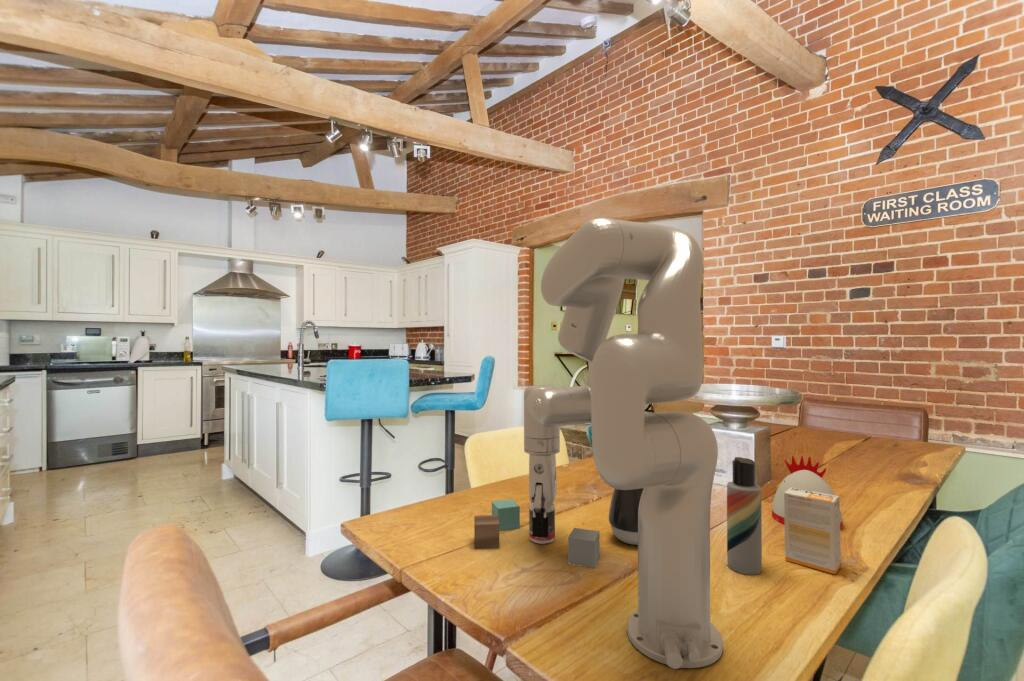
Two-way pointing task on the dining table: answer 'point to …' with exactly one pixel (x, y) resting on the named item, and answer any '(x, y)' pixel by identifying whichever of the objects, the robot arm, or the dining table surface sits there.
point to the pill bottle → (550, 524)
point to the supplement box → (812, 529)
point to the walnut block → (486, 532)
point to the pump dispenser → (625, 514)
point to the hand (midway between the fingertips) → (542, 529)
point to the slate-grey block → (583, 547)
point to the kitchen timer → (800, 485)
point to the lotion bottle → (744, 519)
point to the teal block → (507, 514)
